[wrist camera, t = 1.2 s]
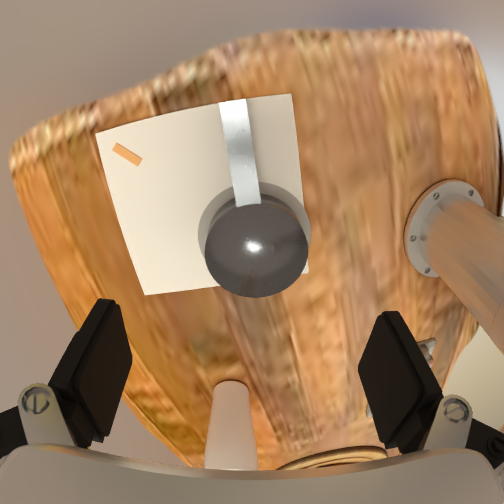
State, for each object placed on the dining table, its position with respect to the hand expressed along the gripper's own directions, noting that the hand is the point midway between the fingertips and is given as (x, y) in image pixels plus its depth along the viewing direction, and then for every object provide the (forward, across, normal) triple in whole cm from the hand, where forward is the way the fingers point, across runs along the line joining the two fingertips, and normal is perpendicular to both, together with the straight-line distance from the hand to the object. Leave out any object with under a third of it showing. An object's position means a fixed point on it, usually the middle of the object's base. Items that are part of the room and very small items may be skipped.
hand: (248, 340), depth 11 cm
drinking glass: (+21, +1, +31) cm, 37 cm away
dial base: (+21, +4, +2) cm, 21 cm away
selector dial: (+19, 0, +1) cm, 19 cm away
